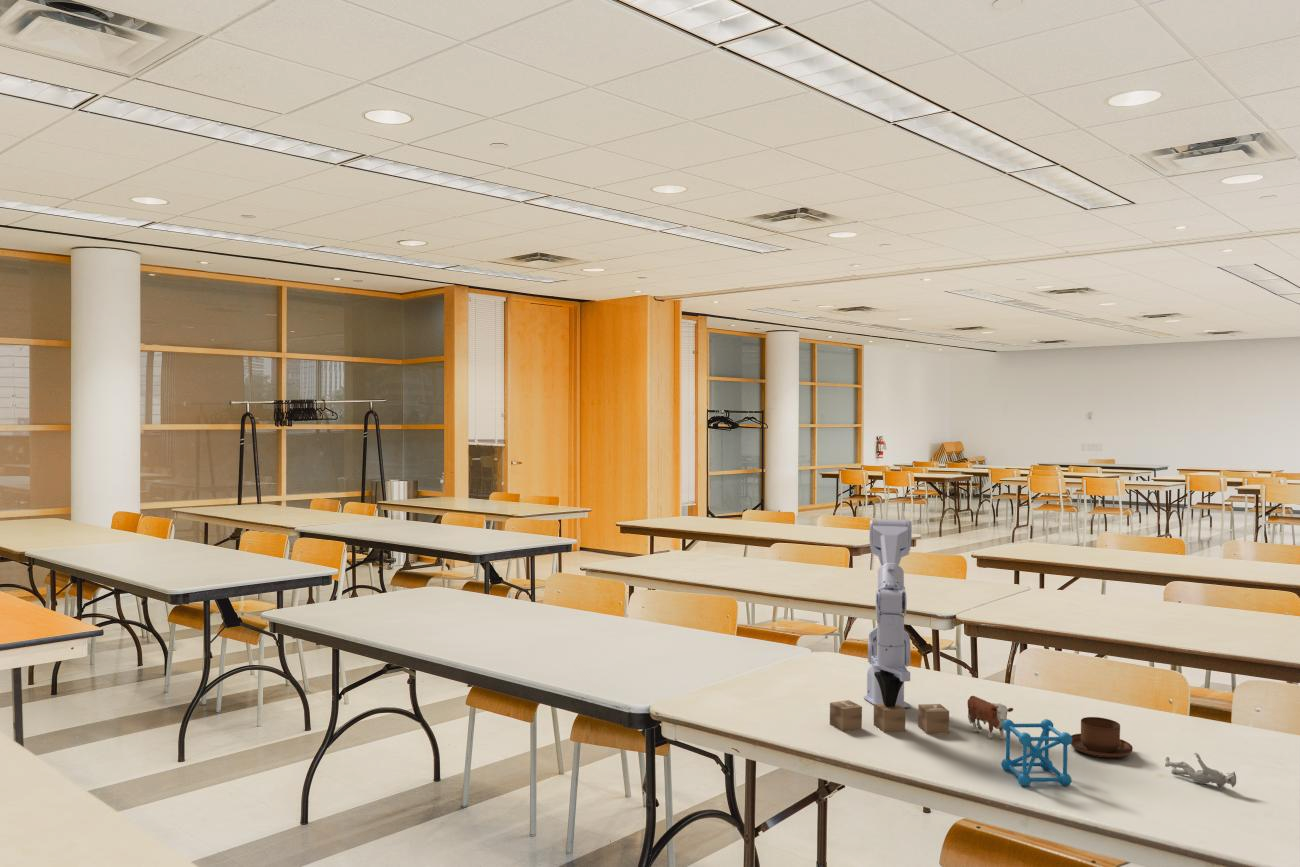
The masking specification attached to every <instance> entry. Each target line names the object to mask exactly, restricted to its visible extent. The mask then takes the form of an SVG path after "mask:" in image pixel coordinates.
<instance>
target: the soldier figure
mask: <svg viewBox="0 0 1300 867" xmlns="http://www.w3.org/2000/svg"><path fill="white" fill-rule="evenodd" d="M1193 755H1194V756H1195V757H1196V758H1197V763H1198V764H1199V766H1200V767H1201V769H1197V771H1196V770H1195V769H1194V768H1193V767H1192V766H1190V764H1189V763H1187V762H1186V761H1182V760H1181V761H1179V762H1175V761H1170V757H1169V756H1166V757H1165V764H1164V766H1165V768H1169V767H1171V768H1172V769H1171V774H1179V775H1185V776H1189V777H1190V778H1191V779H1192V781H1193V782H1195V783H1197V784H1201V785H1204V784H1209V783H1211V784H1216V785H1217V786H1218V787H1222V786H1225V785H1226V784H1227V785H1228V784H1229V785H1230V786H1231V787H1232V788H1234V787H1235V786H1236V784H1237V774H1236V771H1232V772H1227V773H1226V774H1224V773H1223V772H1222V771H1219V770H1217V769H1213V768H1211V767H1208V766H1207V765H1206V764H1205V763H1204V761H1203V760H1202V758H1201V756H1200V754H1199V753H1197V752H1194V753H1193ZM1180 768H1181V769H1180ZM1226 775H1227V776H1226Z"/></svg>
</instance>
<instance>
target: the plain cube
mask: <svg viewBox="0 0 1300 867" xmlns="http://www.w3.org/2000/svg"><path fill="white" fill-rule="evenodd" d="M873 726H874V727H875V726H876V727H875V728H877V729H878V728H879V729H880V730H879V729H878V730H879V731H881V732H882V731H883V732H882V733H883V734H885V733H886V732H888V733H899V732H900V733H901V731H902V732H906V708H903V707H902V706H900V705H898V704H897V703H896V704H895V706H885V705H884V703H874V705H873Z"/></svg>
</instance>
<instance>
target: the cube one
mask: <svg viewBox="0 0 1300 867" xmlns="http://www.w3.org/2000/svg"><path fill="white" fill-rule="evenodd" d="M829 725H830V726H831V727H833V726H834V727H833V728H835V729H837V730H839V731H841V732H848V731H847V730H850V731H854V729H857V730H862V729H861V728H863V727H862V725H863V706H862V705H860V704H857V703H855V702H854V701H851V700H849V699H848V700H839V701H838V700H837V701H832V702H829Z"/></svg>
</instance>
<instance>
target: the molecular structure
mask: <svg viewBox="0 0 1300 867" xmlns="http://www.w3.org/2000/svg"><path fill="white" fill-rule="evenodd" d="M1002 728H1003V729H1004V731H1005V738H1006V740H1005V758H1003V759H1002V760H1001V762H1000V764H1001V768H1002V769H1003V770H1004V771H1006V772H1009V771H1011V772H1013V773H1014V774H1015V776H1016V777H1017V781H1018V784H1019V785H1020V786H1022V787H1028V786H1030V784H1031V783H1034V782H1037V783H1041V782H1044V783H1046V782H1048V783H1049V782H1050V783H1054V782H1056V783H1059V784H1060V785H1061V786H1063V787H1068V786H1070V785H1071V784H1072V780H1073V779H1072V777H1071V775H1070V774H1068V746H1070V745H1071V743H1072V737H1071V735H1072V734H1070V733H1068V732H1060V731H1059V730H1057V729H1056V728H1054V723H1053V721H1052V720H1050V719H1047V718H1045V719H1043V720H1042V721H1040V723H1015V722H1014V721H1013V720H1011V719H1009V718H1007V719H1006V720H1004V721H1003V722H1002ZM1016 728H1041V729H1042V730H1041V733H1040V736H1031V734H1030V733H1028V732H1020V731H1019V730H1017V729H1016ZM1011 732H1012V733H1013V735H1015V736H1016V737H1017V740H1018V742H1019V743H1020V744H1021V746H1022V755H1021V756H1019V757H1017V758H1013V759H1010V758H1011V755H1010V754H1011ZM1050 732H1052V733H1054V734H1055V735H1056V736H1050ZM1032 742H1037V744H1036V745H1034V744H1032ZM1043 742H1044V745H1043V746H1042V744H1043ZM1049 742H1050V743H1049ZM1060 744H1061V745H1062V749H1063V752H1062V772H1061V771H1059V769H1058V768H1056V767H1055V766H1054V764H1053V761H1052V760H1051V759H1050V758H1049V755H1050V753H1049V752H1050V749H1051V748H1053V747H1055V746H1057V745H1058V746H1059V745H1060ZM1028 749H1029V752H1028ZM1043 752H1044V755H1043ZM1029 758H1030V760H1029V761H1028V759H1029ZM1036 759H1038V760H1039V762H1038V761H1037V762H1035V761H1036ZM1021 761H1022V762H1021ZM1015 767H1022V771H1021V772H1022V773H1020V771H1018V769H1016V768H1015ZM1033 767H1040V768H1041V769H1042V770H1044V771H1046V772H1048V771H1051V772H1052V773H1053V774H1054V775H1056V776H1057V777H1031V776H1030V773H1031V771H1032V769H1033Z"/></svg>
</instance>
